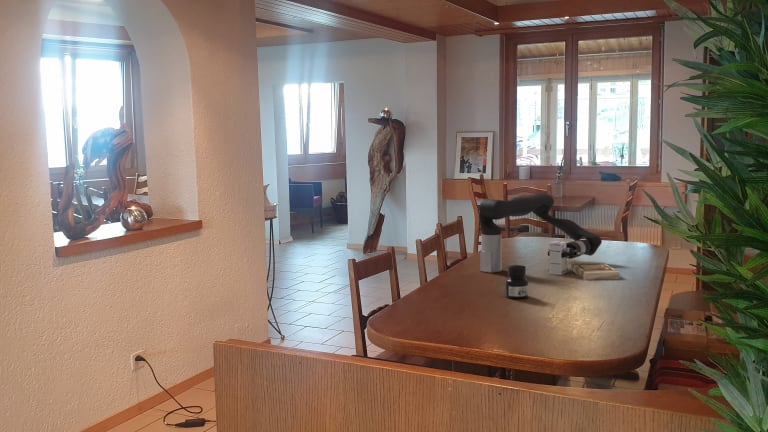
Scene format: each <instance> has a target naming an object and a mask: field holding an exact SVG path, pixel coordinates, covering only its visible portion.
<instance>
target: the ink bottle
mask: <svg viewBox="0 0 768 432" xmlns="http://www.w3.org/2000/svg"><path fill="white" fill-rule="evenodd" d="M526 269H527V268H526V266H525V265H522V264H521V265H520V264H514V265H513V264H512V265H508V266H507V276H508V277H507V278H506V279H505V280H504V281H505V282H504V284H505V285H504V290H505V291H504V296H505V297H506V298H508V299H511V300H512V299H514V300H520V299H521V300H523V299H527V298H528V297H529V280H528V279H527V278H526Z"/></svg>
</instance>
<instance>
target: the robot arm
mask: <svg viewBox="0 0 768 432" xmlns="http://www.w3.org/2000/svg"><path fill="white" fill-rule="evenodd" d="M554 205H555V199H554V198H553V196H552V195H550V194H548V193H544V192H543V193H542V192H540V193H536V194H531V195H526V196H515V197H511V198H510V199H508V200H502V199H496V198H495V199H494V198H493V199H492V198H485V199H482V200H481V201H480V203H479V207H478V214H479V215H478V216H479V217H478V218H479V229H480V233H481V235H480V236H481V241H480V243H481V246H480V247H481V249H480V255H479V256H480V258H479V259H480V260H479V261H480V263H479V265H480V269H479V270H480V272H485V273H490V274H491V273H499V272H502V269H503V268H502V267H503V266H502V258H503V257H502V252H503V251H502V237H503V236H502V234H503V233H502V232H503V231H502V227H500V226H499V225H497V224H496V223H495V222H494V220H495V221H498V220H502V219H505V218H509V217H524V216H526V215H529V214H530V213H533V214H534V215H535V216H536V217H538V218H540V219H541V220H543V221H545V222H546V223H548V224H550V225H551V226H553V227H554V228H556V229H558V230H560V231H561V232H563V233H564V234H566V235H567V236H568V237H569V238H570V239H572V240H573V241H569V242H566V252H563V253H561V258H564V257H566V259H568V260H570V259H575V258H578V257H581V256H583V255H585V256H590V257H591V256H593V255H594V254H595V253H596V252H597V251H598V249H599V248H600V247H601V245H602V243H603V241H602V238H601V237H600V236H599V235H598V234H595V233H593V232H590V231H588V230H587V229H584V228H582V227H581V226H580V225H579V224H578V223H576V222H575V221H573V220H570V219H566V218H557V217H554V216H552V215H550V214H549V213H550V211H551V210H552V208H553V207H554ZM583 238H585V239H583ZM547 256H548V257H550V248H548V251H547Z"/></svg>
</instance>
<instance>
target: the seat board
mask: <svg viewBox="0 0 768 432" xmlns="http://www.w3.org/2000/svg"><path fill="white" fill-rule="evenodd" d="M570 270H571V271H573V273H575V274H576V275H578V276H579V277H580V278H582V279H583V280H585V281H586V280H587V281H589V280H593V281H594V280H619V279H620V271H618V270H617V269H615V268H614V267H612V266H610V265H608V264H606V263H605V262H601V261H600V262H598V261H597V262H570Z"/></svg>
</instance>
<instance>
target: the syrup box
mask: <svg viewBox="0 0 768 432" xmlns="http://www.w3.org/2000/svg"><path fill="white" fill-rule="evenodd" d="M566 243H567V241H563V240H554V241H551V242H549V249H550V256H549V274H551V275H554V276H562V275H564V274H567V258H566V257H564V258H561V253H563V252H566Z"/></svg>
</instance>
